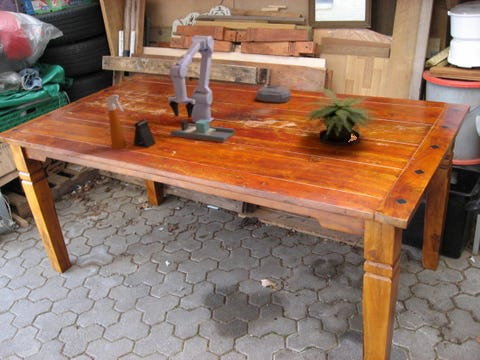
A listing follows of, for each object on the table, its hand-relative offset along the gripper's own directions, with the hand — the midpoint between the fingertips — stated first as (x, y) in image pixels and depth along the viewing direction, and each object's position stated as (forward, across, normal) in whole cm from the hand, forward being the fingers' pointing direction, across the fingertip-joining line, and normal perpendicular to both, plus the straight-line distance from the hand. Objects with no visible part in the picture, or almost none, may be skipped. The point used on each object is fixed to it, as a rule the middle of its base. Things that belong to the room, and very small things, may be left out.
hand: (183, 116), depth 227 cm
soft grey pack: (+9, +25, +62) cm, 68 cm away
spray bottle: (+9, -20, -26) cm, 34 cm away
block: (+6, +11, 0) cm, 13 cm away
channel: (+8, +10, 0) cm, 13 cm away
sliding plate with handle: (+8, +7, 0) cm, 10 cm away
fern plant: (+9, +76, +14) cm, 78 cm away
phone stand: (+9, -11, -20) cm, 25 cm away
